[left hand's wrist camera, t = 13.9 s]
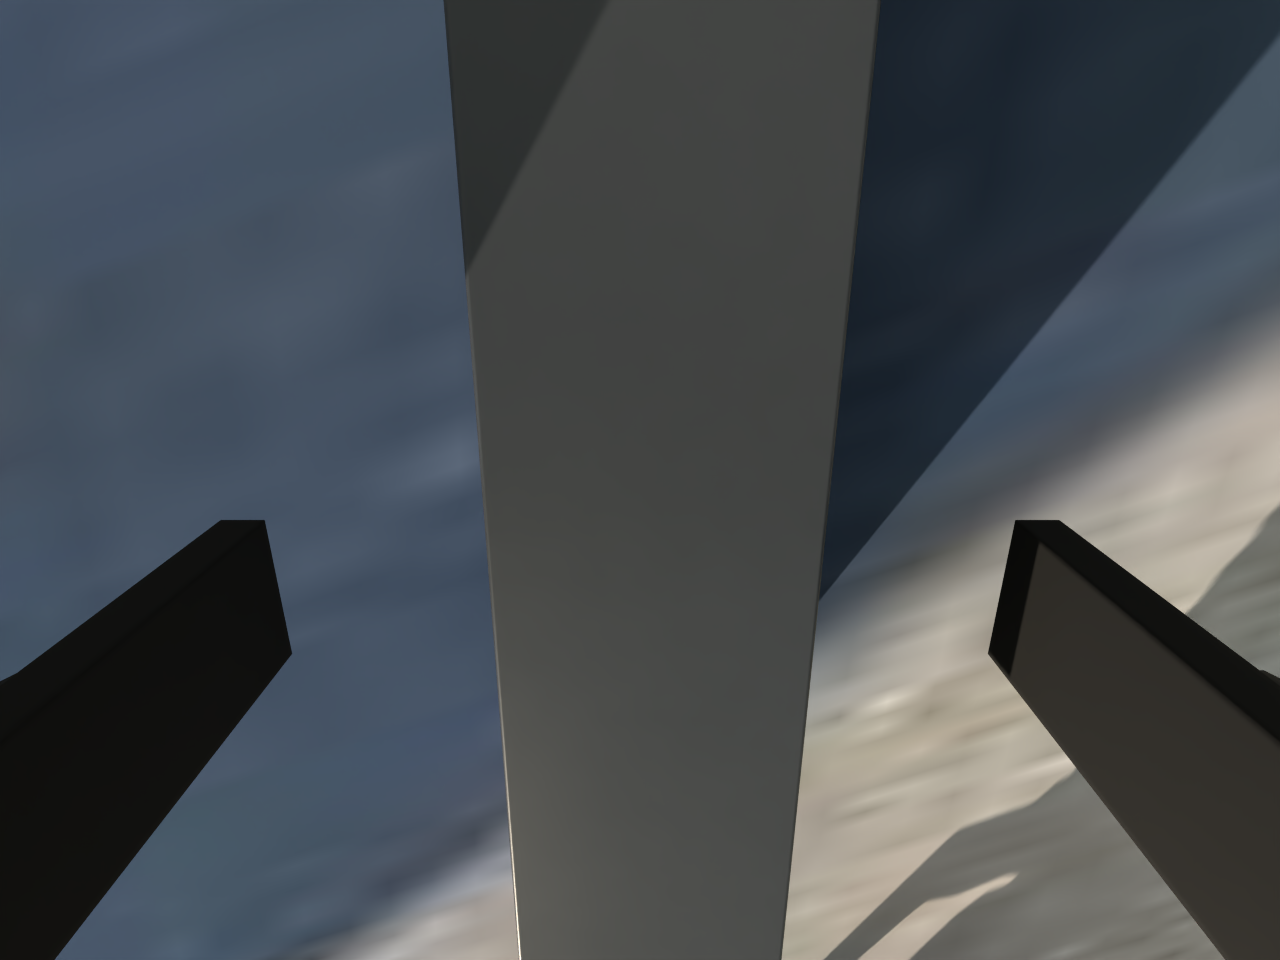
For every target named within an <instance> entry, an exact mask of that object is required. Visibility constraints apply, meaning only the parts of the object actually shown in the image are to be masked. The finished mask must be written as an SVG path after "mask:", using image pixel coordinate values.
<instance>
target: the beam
mask: <svg viewBox="0 0 1280 960" xmlns="http://www.w3.org/2000/svg"><path fill="white" fill-rule="evenodd" d="M880 5H881V0H444V11H445V24H446V37H447V49H448V62H449V75H450V88H451V100H452V113H453V126H454V139H455V151H456V164H457V177H458V190H459V202H460V215H461V228H462V240H463V253H464V266H465V279H466V291H467V304H468V317H469V330H470V342H471V355H472V368H473V381H474V393H475V406H476V419H477V432H478V444H479V457H480V470H481V483H482V495H483V508H484V521H485V534H486V546H487V559H488V572H489V585H490V597H491V610H492V623H493V636H494V648H495V661H496V674H497V686H498V699H499V712H500V725H501V737H502V750H503V763H504V776H505V788H506V801H507V814H508V827H509V839H510V852H511V865H512V878H513V890H514V903H515V916H516V929H517V941H518V954H519V960H781V958H782V948H783V939H784V929H785V920H786V910H787V900H788V891H789V881H790V871H791V862H792V852H793V843H794V833H795V823H796V814H797V804H798V794H799V785H800V775H801V766H802V756H803V746H804V737H805V727H806V717H807V708H808V698H809V689H810V679H811V669H812V660H813V650H814V640H815V631H816V621H817V612H818V602H819V592H820V583H821V573H822V564H823V554H824V544H825V535H826V525H827V515H828V506H829V496H830V487H831V477H832V467H833V458H834V448H835V438H836V429H837V419H838V410H839V400H840V390H841V381H842V371H843V361H844V352H845V342H846V333H847V323H848V313H849V304H850V294H851V284H852V275H853V265H854V256H855V246H856V236H857V227H858V217H859V208H860V198H861V188H862V179H863V169H864V159H865V150H866V140H867V131H868V121H869V111H870V102H871V92H872V82H873V73H874V63H875V54H876V44H877V34H878V25H879V15H880Z"/></svg>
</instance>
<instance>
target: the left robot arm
mask: <svg viewBox="0 0 1280 960" xmlns="http://www.w3.org/2000/svg"><path fill="white" fill-rule="evenodd" d="M291 654H292V651H291V646H290V641H289V637H288V632H287V627H286V622H285V617H284V612H283V607H282V602H281V598H280V593H279V588H278V583H277V578H276V573H275V568H274V563H273V559H272V554H271V549H270V544H269V539H268V534H267V529H266V524H265V520H220V521H219V522H218V523H216V524H215V525H214V526H212V527H211V528H210V529H208V530H207V531H206V532H204V533H203V534H202V535H200V536H199V537H198V538H196V539H195V540H194V541H192V542H191V543H190V544H188V545H187V546H186V547H184V548H183V549H182V550H180V551H179V552H178V553H176V554H175V555H174V556H172V557H171V558H170V559H168V560H167V561H166V562H164V563H163V564H162V565H160V566H159V567H158V568H156V569H155V570H154V571H152V572H151V573H150V574H148V575H147V576H146V577H144V578H143V579H142V580H140V581H139V582H138V583H136V584H135V585H134V586H132V587H131V588H130V589H128V590H127V591H126V592H124V593H123V594H122V595H120V596H119V597H118V598H116V599H115V600H114V601H112V602H111V603H110V604H108V605H107V606H106V607H104V608H103V609H102V610H100V611H99V612H98V613H96V614H95V615H94V616H92V617H91V618H90V619H88V620H87V621H86V622H84V623H83V624H82V625H80V626H79V627H78V628H76V629H75V630H74V631H72V632H71V633H70V634H68V635H67V636H66V637H64V638H63V639H62V640H60V641H59V642H58V643H56V644H55V645H54V646H52V647H51V648H50V649H48V650H47V651H46V652H44V653H43V654H42V655H40V656H39V657H38V658H36V659H35V660H34V661H32V662H31V663H30V664H28V665H27V666H26V667H24V668H23V669H22V670H20V671H19V672H18V673H16V674H14V675H12V676H10V677H8V678H6V679H4V680H2V681H0V960H55V958H56V957H57V956H58V955H59V953H60V952H61V951H62V949H63V948H64V947H65V946H66V944H67V943H68V942H69V940H70V939H71V938H72V937H73V935H74V934H75V933H76V931H77V930H78V929H79V928H80V926H81V925H82V924H83V922H84V921H85V920H86V918H87V917H88V916H89V915H90V913H91V912H92V911H93V909H94V908H95V907H96V906H97V904H98V903H99V902H100V900H101V899H102V898H103V897H104V895H105V894H106V893H107V891H108V890H109V889H110V888H111V886H112V885H113V884H114V882H115V881H116V880H117V879H118V877H119V876H120V875H121V873H122V872H123V871H124V870H125V868H126V867H127V866H128V864H129V863H130V862H131V861H132V859H133V858H134V857H135V855H136V854H137V853H138V852H139V850H140V849H141V848H142V846H143V845H144V844H145V842H146V841H147V840H148V839H149V837H150V836H151V835H152V833H153V832H154V831H155V830H156V828H157V827H158V826H159V824H160V823H161V822H162V821H163V819H164V818H165V817H166V815H167V814H168V813H169V812H170V810H171V809H172V808H173V806H174V805H175V804H176V803H177V801H178V800H179V799H180V797H181V796H182V795H183V794H184V792H185V791H186V790H187V788H188V787H189V786H190V785H191V783H192V782H193V781H194V779H195V778H196V777H197V775H198V774H199V773H200V772H201V770H202V769H203V768H204V766H205V765H206V764H207V763H208V761H209V760H210V759H211V757H212V756H213V755H214V754H215V752H216V751H217V750H218V748H219V747H220V746H221V745H222V743H223V742H224V741H225V739H226V738H227V737H228V736H229V734H230V733H231V732H232V730H233V729H234V728H235V727H236V725H237V724H238V723H239V721H240V720H241V719H242V718H243V716H244V715H245V714H246V712H247V711H248V710H249V709H250V707H251V706H252V705H253V703H254V702H255V701H256V699H257V698H258V697H259V696H260V694H261V693H262V692H263V690H264V689H265V688H266V687H267V685H268V684H269V683H270V681H271V680H272V679H273V678H274V676H275V675H276V674H277V672H278V671H279V670H280V669H281V667H282V666H283V665H284V663H285V662H286V661H287V660H288V658H289V657H290V656H291ZM988 654H989V656H990V657H991V658H992V660H993V661H994V662H995V663H996V665H997V666H998V667H999V669H1000V670H1001V671H1002V672H1003V674H1004V675H1005V676H1006V678H1007V679H1008V680H1009V681H1010V683H1011V684H1012V685H1013V687H1014V688H1015V689H1016V690H1017V692H1018V693H1019V694H1020V696H1021V697H1022V698H1023V699H1024V701H1025V702H1026V703H1027V705H1028V706H1029V707H1030V709H1031V710H1032V711H1033V712H1034V714H1035V715H1036V716H1037V718H1038V719H1039V720H1040V721H1041V723H1042V724H1043V725H1044V727H1045V728H1046V729H1047V730H1048V732H1049V733H1050V734H1051V736H1052V737H1053V738H1054V739H1055V741H1056V742H1057V743H1058V745H1059V746H1060V747H1061V748H1062V750H1063V751H1064V752H1065V754H1066V755H1067V756H1068V757H1069V759H1070V760H1071V761H1072V763H1073V764H1074V765H1075V766H1076V768H1077V769H1078V770H1079V772H1080V773H1081V774H1082V776H1083V777H1084V778H1085V779H1086V781H1087V782H1088V783H1089V785H1090V786H1091V787H1092V788H1093V790H1094V791H1095V792H1096V794H1097V795H1098V796H1099V797H1100V799H1101V800H1102V801H1103V803H1104V804H1105V805H1106V806H1107V808H1108V809H1109V810H1110V812H1111V813H1112V814H1113V815H1114V817H1115V818H1116V819H1117V821H1118V822H1119V823H1120V824H1121V826H1122V827H1123V828H1124V830H1125V831H1126V832H1127V833H1128V835H1129V836H1130V837H1131V839H1132V840H1133V841H1134V842H1135V844H1136V845H1137V846H1138V848H1139V849H1140V850H1141V852H1142V853H1143V854H1144V855H1145V857H1146V858H1147V859H1148V861H1149V862H1150V863H1151V864H1152V866H1153V867H1154V868H1155V870H1156V871H1157V872H1158V873H1159V875H1160V876H1161V877H1162V879H1163V880H1164V881H1165V882H1166V884H1167V885H1168V886H1169V888H1170V889H1171V890H1172V891H1173V893H1174V894H1175V895H1176V897H1177V898H1178V899H1179V900H1180V902H1181V903H1182V904H1183V906H1184V907H1185V908H1186V909H1187V911H1188V912H1189V913H1190V915H1191V916H1192V917H1193V918H1194V920H1195V921H1196V922H1197V924H1198V925H1199V926H1200V928H1201V929H1202V930H1203V931H1204V933H1205V934H1206V935H1207V937H1208V938H1209V939H1210V940H1211V942H1212V943H1213V944H1214V946H1215V947H1216V948H1217V949H1218V951H1219V952H1220V953H1221V955H1222V956H1223V957H1224V958H1225V960H1280V678H1278V677H1276V676H1274V675H1272V674H1270V673H1268V672H1266V671H1264V670H1258V669H1257V668H1256V667H1254V666H1253V665H1252V664H1250V663H1249V662H1248V661H1246V660H1245V659H1244V658H1242V657H1241V656H1240V655H1238V654H1237V653H1236V652H1234V651H1233V650H1232V649H1230V648H1229V647H1228V646H1226V645H1225V644H1224V643H1222V642H1221V641H1220V640H1218V639H1217V638H1216V637H1214V636H1213V635H1212V634H1210V633H1209V632H1208V631H1206V630H1205V629H1204V628H1202V627H1201V626H1200V625H1198V624H1197V623H1196V622H1194V621H1193V620H1192V619H1190V618H1189V617H1188V616H1186V615H1185V614H1184V613H1182V612H1181V611H1180V610H1178V609H1177V608H1176V607H1174V606H1173V605H1172V604H1170V603H1169V602H1168V601H1166V600H1165V599H1164V598H1162V597H1161V596H1160V595H1158V594H1157V593H1156V592H1154V591H1153V590H1152V589H1150V588H1149V587H1148V586H1146V585H1145V584H1144V583H1142V582H1141V581H1140V580H1138V579H1137V578H1136V577H1134V576H1133V575H1132V574H1130V573H1129V572H1128V571H1126V570H1125V569H1124V568H1122V567H1121V566H1120V565H1118V564H1117V563H1116V562H1114V561H1113V560H1112V559H1110V558H1109V557H1108V556H1106V555H1105V554H1104V553H1102V552H1101V551H1100V550H1098V549H1097V548H1096V547H1094V546H1093V545H1092V544H1090V543H1089V542H1088V541H1086V540H1085V539H1084V538H1082V537H1081V536H1080V535H1078V534H1077V533H1076V532H1074V531H1073V530H1072V529H1070V528H1069V527H1068V526H1066V525H1065V524H1064V523H1062V522H1061V521H1060V520H1015V524H1014V529H1013V534H1012V539H1011V544H1010V549H1009V554H1008V559H1007V563H1006V568H1005V573H1004V578H1003V583H1002V588H1001V593H1000V598H999V602H998V607H997V612H996V617H995V622H994V627H993V632H992V637H991V641H990V646H989V651H988Z"/></svg>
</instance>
